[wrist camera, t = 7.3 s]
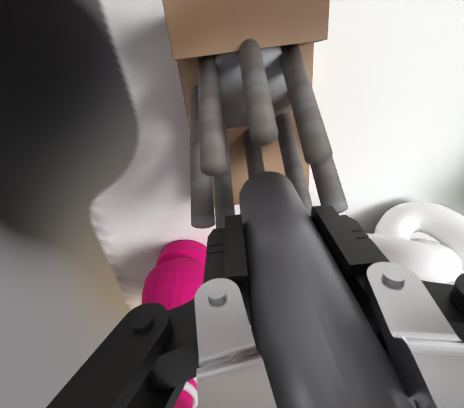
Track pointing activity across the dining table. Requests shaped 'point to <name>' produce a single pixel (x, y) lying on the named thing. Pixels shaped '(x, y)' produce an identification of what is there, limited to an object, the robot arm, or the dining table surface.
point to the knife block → (251, 99)
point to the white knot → (423, 240)
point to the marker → (308, 309)
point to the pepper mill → (177, 290)
